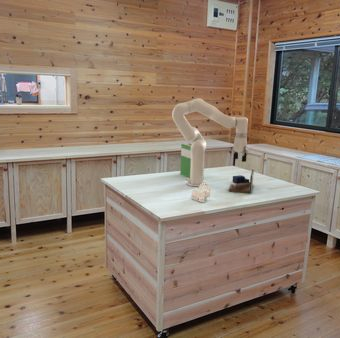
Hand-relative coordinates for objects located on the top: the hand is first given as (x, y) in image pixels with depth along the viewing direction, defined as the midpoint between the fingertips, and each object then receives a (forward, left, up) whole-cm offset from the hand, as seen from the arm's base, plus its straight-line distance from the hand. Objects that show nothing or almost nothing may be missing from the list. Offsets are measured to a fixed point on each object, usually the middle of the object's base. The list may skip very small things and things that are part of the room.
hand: (239, 160), depth 261 cm
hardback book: (-40, +25, -20) cm, 51 cm away
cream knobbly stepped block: (-20, -35, -20) cm, 45 cm away
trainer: (+1, +4, -18) cm, 18 cm away
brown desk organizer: (+2, +1, -20) cm, 20 cm away
